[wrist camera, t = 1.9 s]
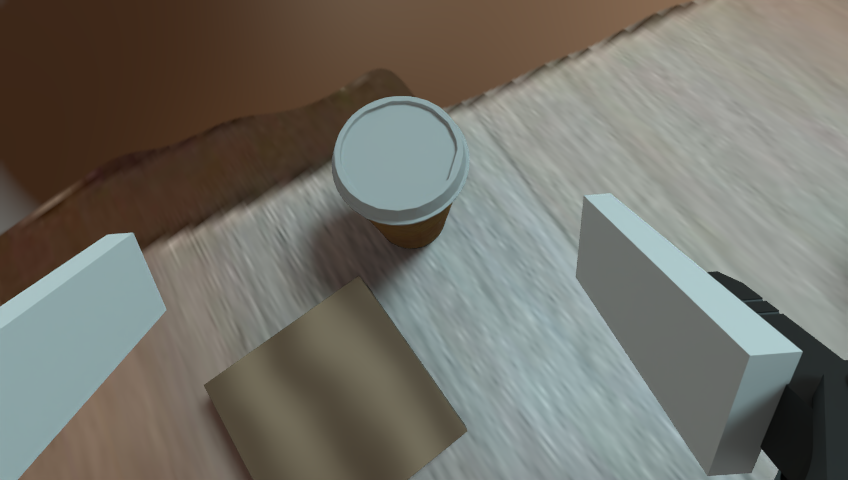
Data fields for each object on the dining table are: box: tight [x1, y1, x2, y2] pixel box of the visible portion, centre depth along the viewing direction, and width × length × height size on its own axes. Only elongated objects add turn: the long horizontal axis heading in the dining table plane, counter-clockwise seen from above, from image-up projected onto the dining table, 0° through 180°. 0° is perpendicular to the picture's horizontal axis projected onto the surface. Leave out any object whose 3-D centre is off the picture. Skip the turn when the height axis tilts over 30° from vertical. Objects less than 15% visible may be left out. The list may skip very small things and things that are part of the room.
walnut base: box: [204, 276, 467, 480], centre depth 32 cm, size 14×14×4 cm
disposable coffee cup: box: [332, 96, 470, 248], centre depth 33 cm, size 10×10×12 cm
